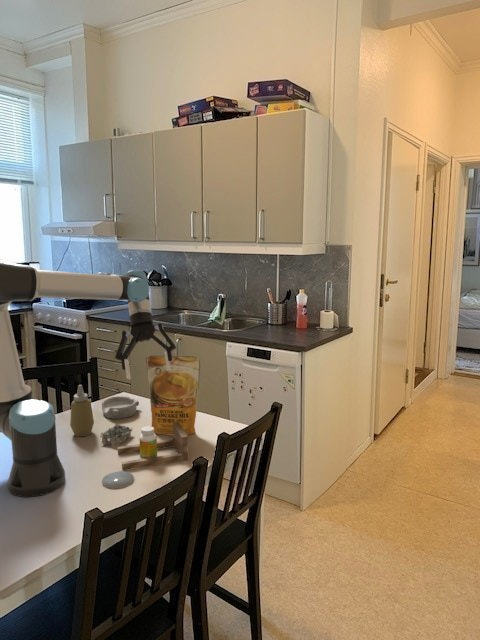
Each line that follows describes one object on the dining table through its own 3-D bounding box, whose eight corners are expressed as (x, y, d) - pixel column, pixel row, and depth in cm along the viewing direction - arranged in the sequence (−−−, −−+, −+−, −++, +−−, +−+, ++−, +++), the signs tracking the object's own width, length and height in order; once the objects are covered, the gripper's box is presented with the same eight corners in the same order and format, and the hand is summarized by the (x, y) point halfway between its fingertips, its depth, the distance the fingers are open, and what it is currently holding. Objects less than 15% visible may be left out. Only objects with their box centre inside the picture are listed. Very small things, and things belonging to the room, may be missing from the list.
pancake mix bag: (150, 426, 182) (148, 353, 177) (201, 429, 181) (200, 355, 175) (145, 434, 176) (143, 358, 170) (197, 436, 174) (197, 360, 169)
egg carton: (116, 448, 165) (115, 436, 164) (98, 444, 168) (97, 433, 167) (134, 435, 175) (134, 425, 174) (117, 432, 178) (117, 421, 177)
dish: (118, 422, 186) (118, 410, 185) (93, 415, 193) (93, 403, 193) (145, 411, 198) (145, 399, 197) (121, 404, 205) (120, 393, 204)
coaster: (103, 490, 138) (103, 489, 138) (100, 475, 146) (100, 474, 146) (135, 485, 141) (135, 483, 141) (131, 470, 149) (131, 469, 149)
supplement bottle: (151, 462, 155) (150, 433, 153) (136, 459, 157) (135, 430, 155) (160, 454, 160) (159, 426, 158) (145, 452, 162) (144, 424, 160)
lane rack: (122, 470, 150) (121, 445, 148) (117, 452, 161) (116, 429, 160) (188, 459, 157) (187, 436, 155) (179, 443, 168) (178, 421, 167)
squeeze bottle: (94, 427, 181) (91, 380, 178) (94, 436, 173) (92, 387, 170) (70, 430, 178) (68, 382, 175) (70, 439, 171) (67, 390, 167)
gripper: (178, 310, 171) (187, 369, 166) (108, 324, 172) (115, 383, 166) (174, 304, 164) (183, 365, 158) (101, 318, 165) (108, 380, 159)
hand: (148, 375), depth 162 cm, fingers open, 13 cm apart
